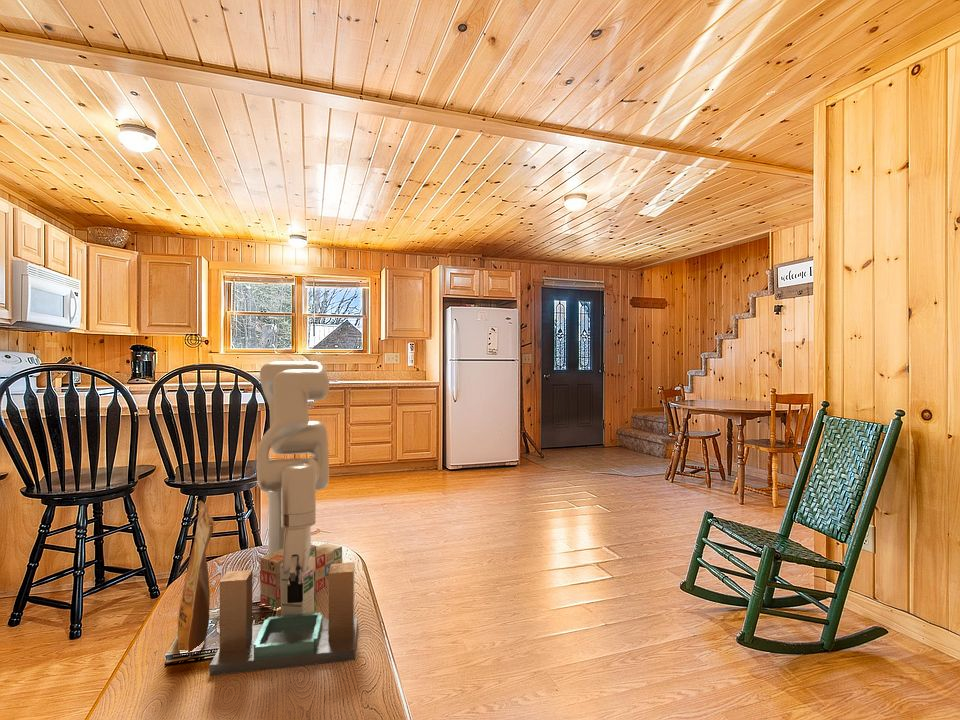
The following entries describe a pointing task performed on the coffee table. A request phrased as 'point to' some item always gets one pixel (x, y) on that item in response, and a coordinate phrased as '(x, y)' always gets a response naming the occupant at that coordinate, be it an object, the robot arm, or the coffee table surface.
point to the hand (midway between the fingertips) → (298, 592)
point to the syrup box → (308, 591)
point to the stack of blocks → (272, 561)
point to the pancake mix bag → (196, 588)
